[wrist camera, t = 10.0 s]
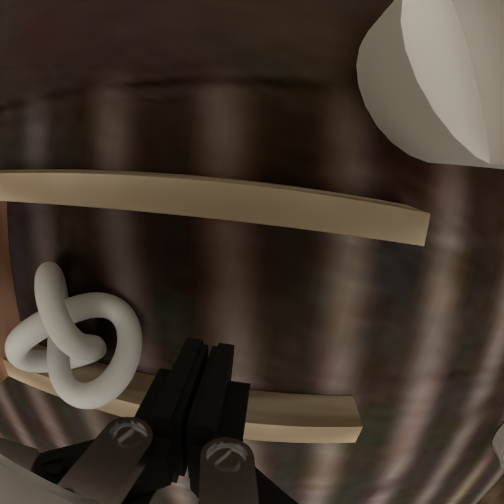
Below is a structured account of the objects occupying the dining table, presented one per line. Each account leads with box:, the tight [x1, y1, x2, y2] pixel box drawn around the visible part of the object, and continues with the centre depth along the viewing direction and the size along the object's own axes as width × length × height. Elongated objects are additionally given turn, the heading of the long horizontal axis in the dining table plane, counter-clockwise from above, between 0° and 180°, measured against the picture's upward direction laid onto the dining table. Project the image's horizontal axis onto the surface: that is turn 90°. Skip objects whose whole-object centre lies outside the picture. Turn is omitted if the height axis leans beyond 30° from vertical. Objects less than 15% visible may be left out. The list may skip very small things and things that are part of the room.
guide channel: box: [0, 169, 430, 443], centre depth 15 cm, size 14×26×5 cm, turn 84°
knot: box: [5, 261, 142, 409], centre depth 15 cm, size 8×8×6 cm
